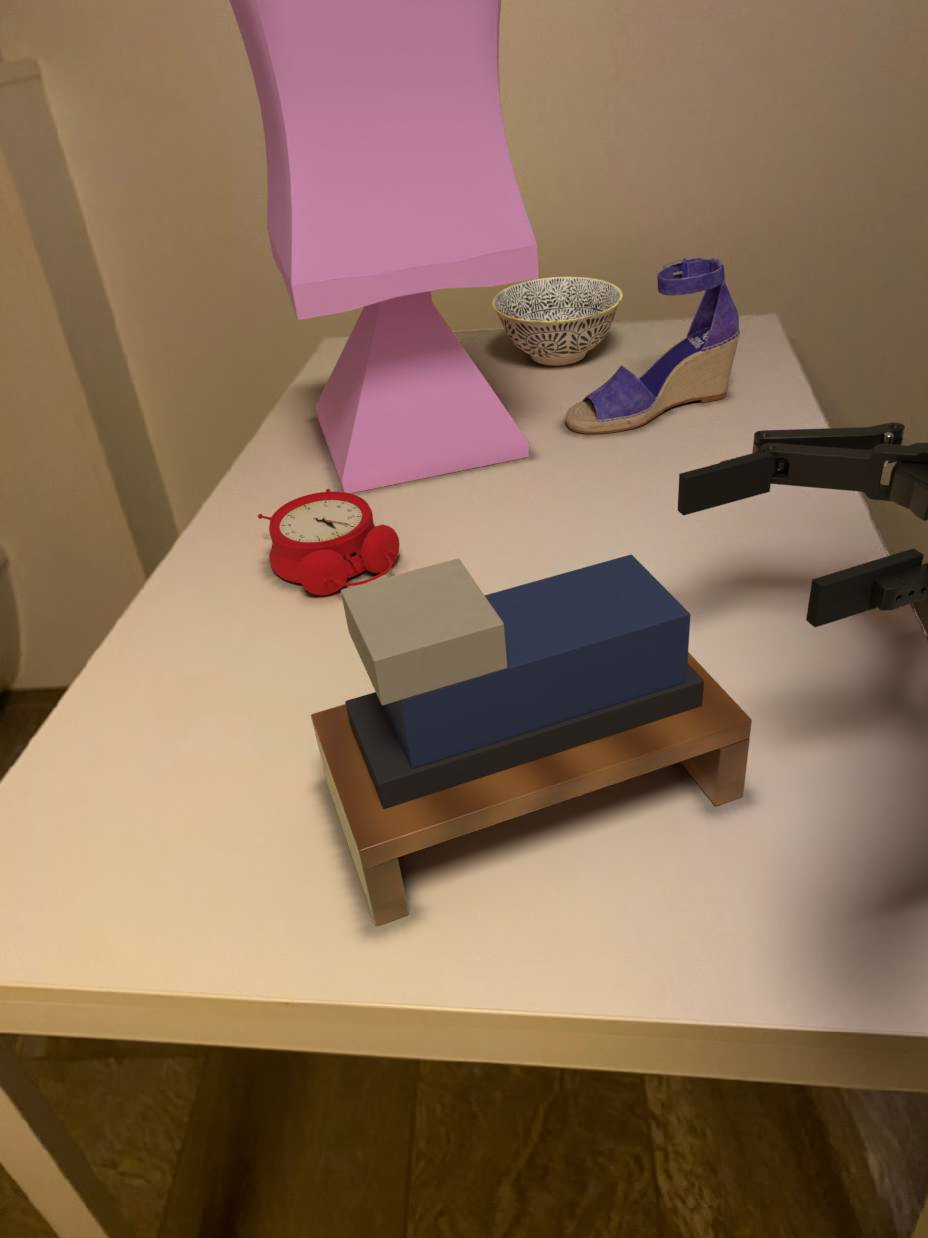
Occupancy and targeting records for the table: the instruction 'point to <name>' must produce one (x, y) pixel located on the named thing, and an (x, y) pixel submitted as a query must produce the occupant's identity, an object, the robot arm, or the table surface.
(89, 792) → the table surface
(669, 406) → the sandal
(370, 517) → the alarm clock
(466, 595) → the stacked block toy
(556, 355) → the bowl
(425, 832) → the low wooden table
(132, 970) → the table surface
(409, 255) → the pink table lamp
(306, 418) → the table surface
